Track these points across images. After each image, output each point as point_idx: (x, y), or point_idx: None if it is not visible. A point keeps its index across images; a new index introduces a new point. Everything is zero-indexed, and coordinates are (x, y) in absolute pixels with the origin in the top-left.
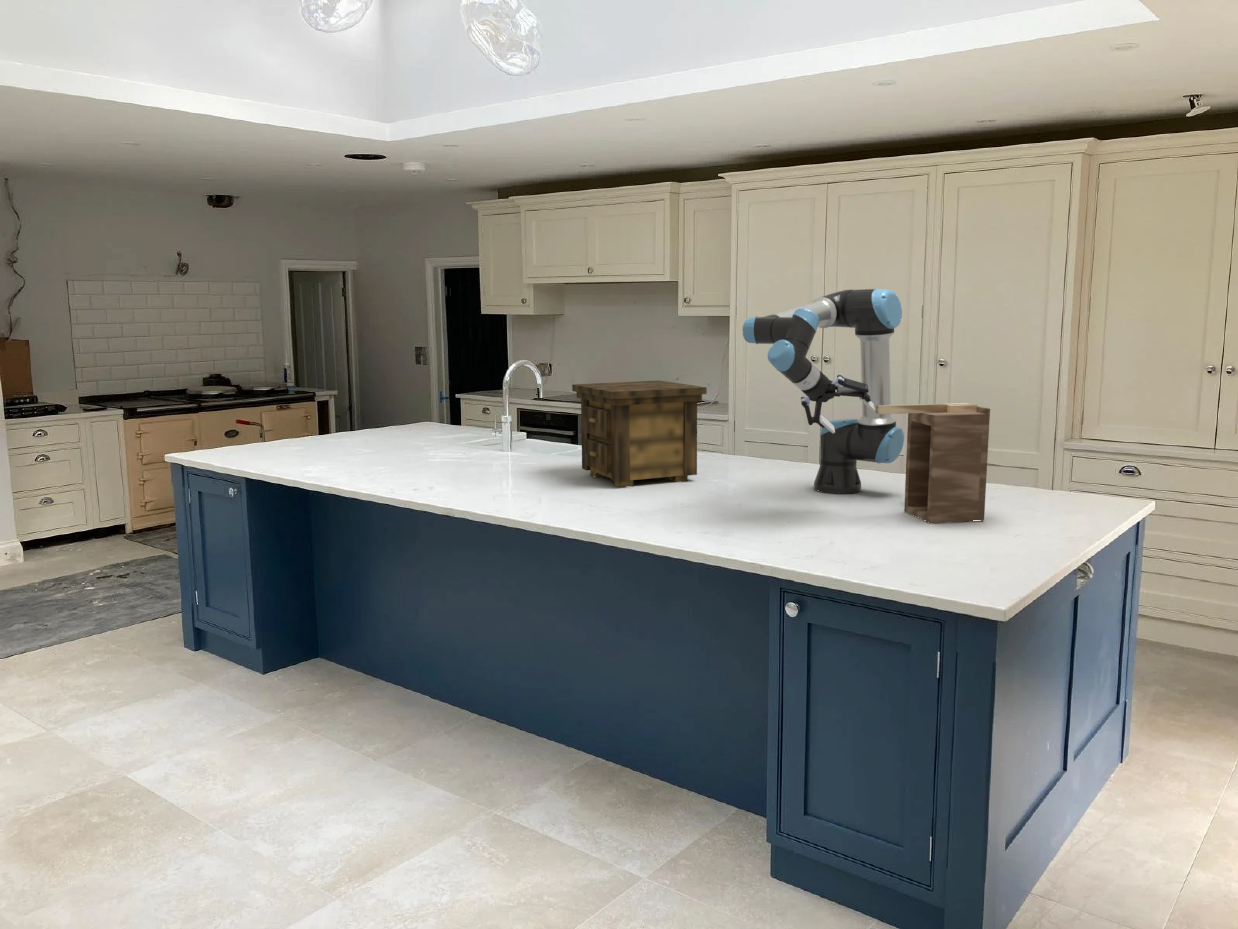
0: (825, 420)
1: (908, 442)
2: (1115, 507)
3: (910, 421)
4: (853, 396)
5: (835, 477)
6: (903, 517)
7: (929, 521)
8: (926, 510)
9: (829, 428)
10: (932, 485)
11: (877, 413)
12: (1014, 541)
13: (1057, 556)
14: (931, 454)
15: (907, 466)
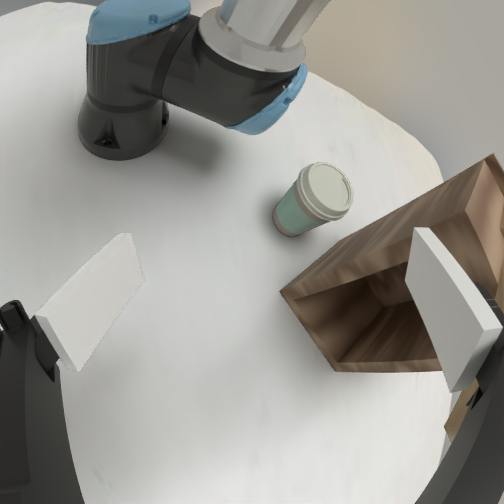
0: (86, 305)
1: (386, 256)
2: (434, 185)
3: (442, 242)
4: (448, 452)
5: (120, 134)
6: (289, 343)
7: (335, 369)
8: (328, 323)
9: (118, 310)
10: (384, 371)
11: (449, 437)
12: (417, 405)
13: (439, 436)
14: (432, 364)
15: (340, 275)
